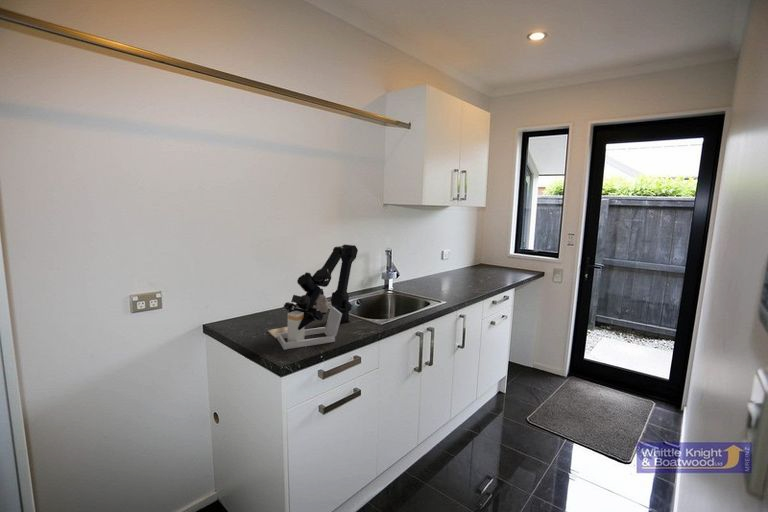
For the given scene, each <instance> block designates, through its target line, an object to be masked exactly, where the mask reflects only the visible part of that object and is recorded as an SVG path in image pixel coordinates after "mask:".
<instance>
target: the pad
mask: <svg viewBox="0 0 768 512" xmlns="http://www.w3.org/2000/svg"><path fill="white" fill-rule="evenodd" d="M267 332H268V333H269V334H270V335H271V336H272V337H274V339H277V333H283V332H288V326H284V327H278V328H273V329H268V330H267Z"/></svg>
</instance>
